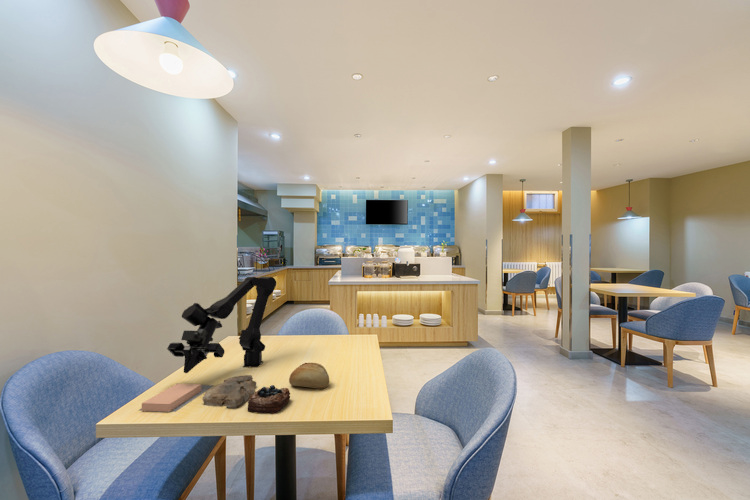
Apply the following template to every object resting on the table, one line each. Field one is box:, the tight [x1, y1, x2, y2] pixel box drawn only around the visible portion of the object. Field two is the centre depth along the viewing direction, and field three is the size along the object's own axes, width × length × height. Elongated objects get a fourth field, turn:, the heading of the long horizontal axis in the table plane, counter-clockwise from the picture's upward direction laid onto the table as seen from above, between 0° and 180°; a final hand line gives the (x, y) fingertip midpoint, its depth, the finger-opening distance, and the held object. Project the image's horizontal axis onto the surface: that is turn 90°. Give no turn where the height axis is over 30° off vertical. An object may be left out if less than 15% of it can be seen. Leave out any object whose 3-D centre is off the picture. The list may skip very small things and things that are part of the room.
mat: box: [139, 384, 215, 413], centre depth 106 cm, size 20×12×1 cm, turn 175°
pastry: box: [247, 384, 291, 415], centre depth 100 cm, size 11×12×6 cm
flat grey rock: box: [202, 374, 257, 409], centre depth 108 cm, size 14×5×20 cm
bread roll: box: [288, 362, 330, 390], centre depth 116 cm, size 10×15×8 cm, turn 83°
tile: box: [141, 383, 202, 413], centre depth 103 cm, size 2×9×15 cm
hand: (185, 372), depth 108 cm, fingers closed
